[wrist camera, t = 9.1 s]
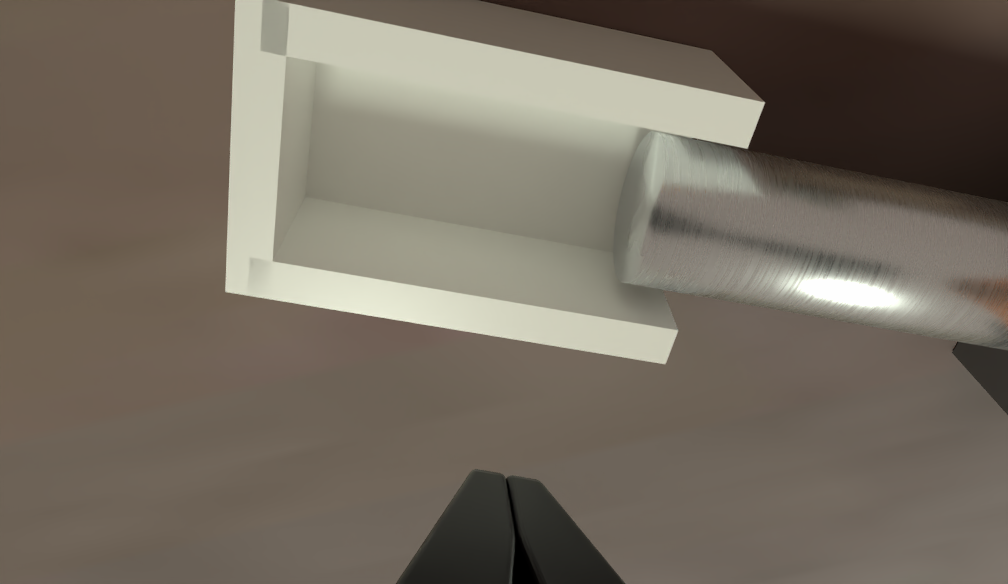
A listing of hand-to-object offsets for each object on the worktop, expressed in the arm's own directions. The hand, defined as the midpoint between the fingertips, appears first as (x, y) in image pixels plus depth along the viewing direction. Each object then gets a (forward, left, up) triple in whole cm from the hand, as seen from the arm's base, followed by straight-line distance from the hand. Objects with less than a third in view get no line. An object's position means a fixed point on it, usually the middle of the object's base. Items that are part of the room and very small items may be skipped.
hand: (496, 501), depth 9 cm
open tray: (0, 0, -13) cm, 13 cm away
